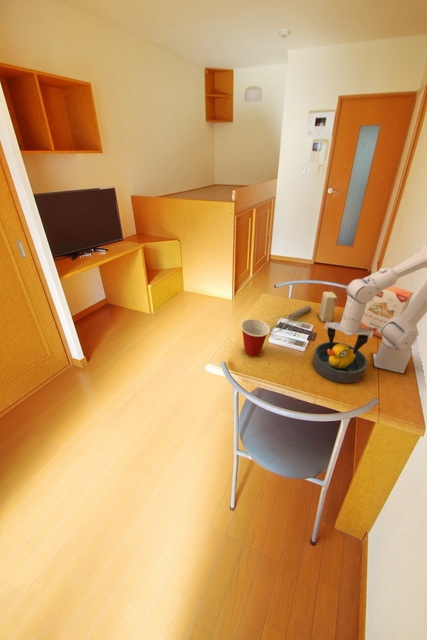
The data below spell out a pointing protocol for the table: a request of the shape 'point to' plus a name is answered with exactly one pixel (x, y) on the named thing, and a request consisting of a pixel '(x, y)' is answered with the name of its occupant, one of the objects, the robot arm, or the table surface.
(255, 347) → the plastic cup
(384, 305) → the cracker box
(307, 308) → the kitchen whisk
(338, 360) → the duckling
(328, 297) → the cosmetic box
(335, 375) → the bowl
